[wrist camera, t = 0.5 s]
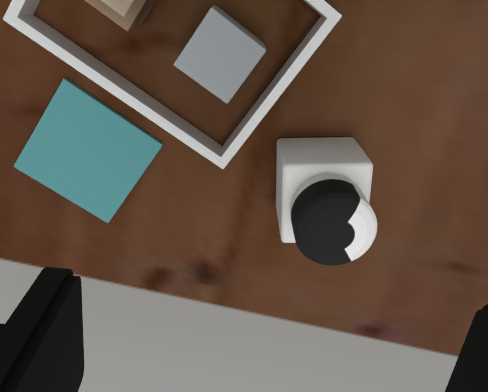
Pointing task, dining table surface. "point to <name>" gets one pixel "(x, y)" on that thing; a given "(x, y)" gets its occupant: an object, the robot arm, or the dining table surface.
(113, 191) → the teal mat
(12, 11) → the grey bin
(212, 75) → the slate box
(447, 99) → the dining table surface
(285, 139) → the medicine bottle
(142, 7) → the walnut box
